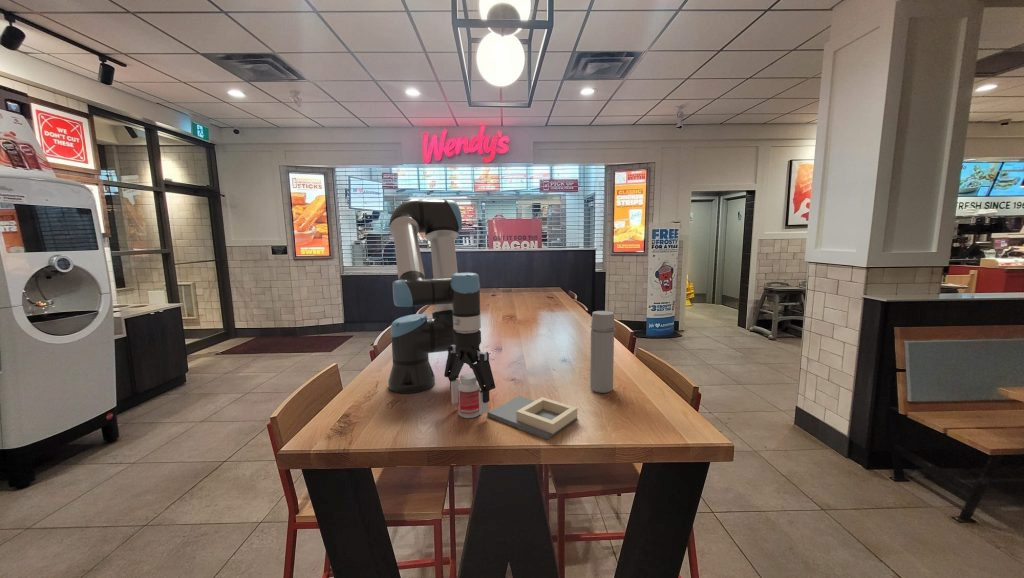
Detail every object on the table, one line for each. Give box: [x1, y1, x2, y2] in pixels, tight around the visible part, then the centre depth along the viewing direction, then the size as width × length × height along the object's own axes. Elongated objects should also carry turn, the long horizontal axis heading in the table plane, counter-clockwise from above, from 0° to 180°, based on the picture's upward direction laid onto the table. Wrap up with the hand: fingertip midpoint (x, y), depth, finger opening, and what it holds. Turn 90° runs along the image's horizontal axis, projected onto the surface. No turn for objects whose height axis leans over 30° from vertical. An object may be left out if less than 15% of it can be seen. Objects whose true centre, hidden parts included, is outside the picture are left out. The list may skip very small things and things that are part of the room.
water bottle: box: [589, 310, 617, 394], centre depth 123 cm, size 9×8×25 cm
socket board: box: [487, 395, 578, 440], centre depth 105 cm, size 21×14×4 cm
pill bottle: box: [457, 372, 481, 419], centre depth 107 cm, size 6×6×11 cm
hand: (469, 407), depth 108 cm, fingers open, 10 cm apart
